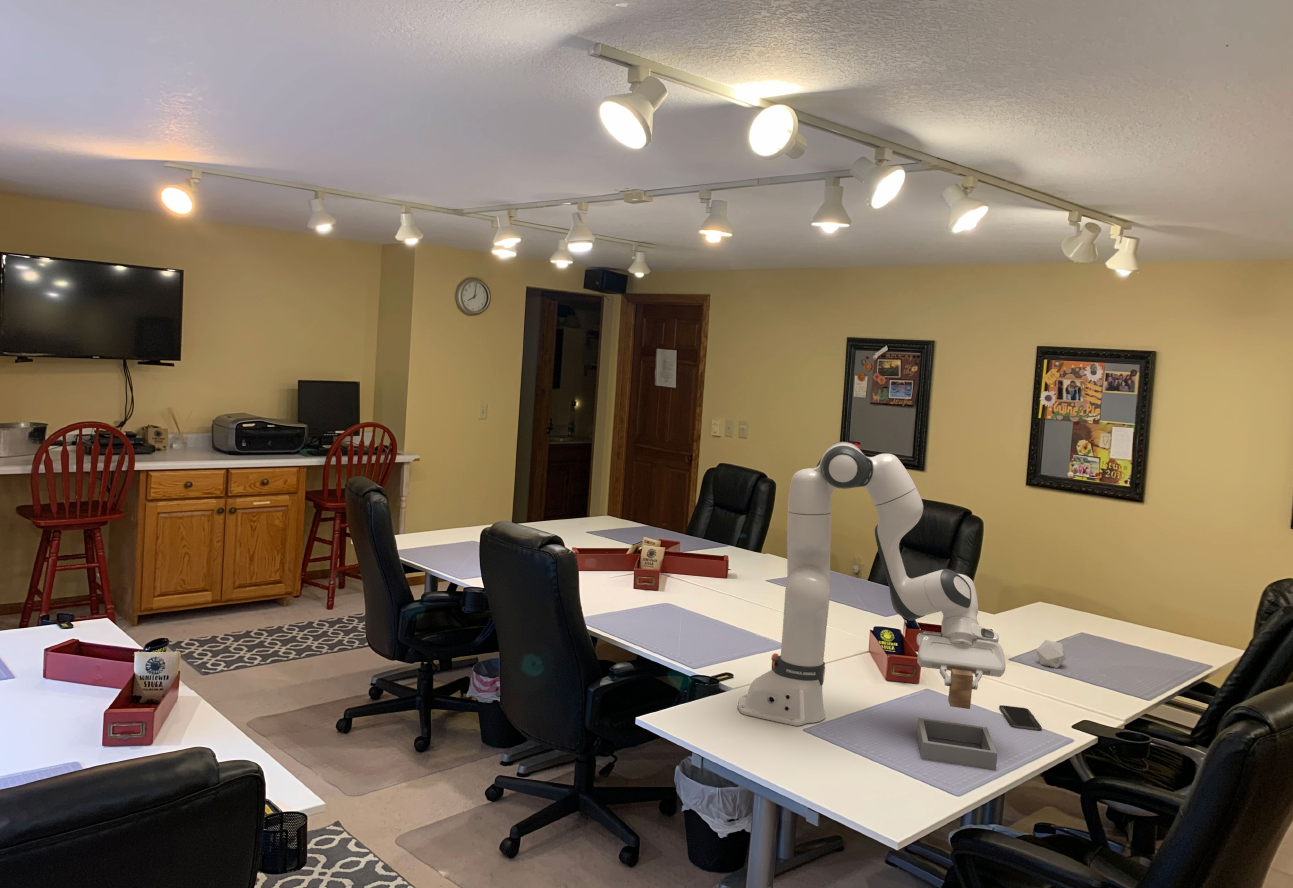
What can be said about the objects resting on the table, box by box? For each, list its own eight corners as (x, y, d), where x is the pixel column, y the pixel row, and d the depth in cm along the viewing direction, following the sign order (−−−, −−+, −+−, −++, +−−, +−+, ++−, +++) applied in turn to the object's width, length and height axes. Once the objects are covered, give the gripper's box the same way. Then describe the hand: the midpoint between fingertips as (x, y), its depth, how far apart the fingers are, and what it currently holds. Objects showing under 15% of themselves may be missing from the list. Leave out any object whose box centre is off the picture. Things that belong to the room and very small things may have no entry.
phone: (1011, 724, 238) (998, 704, 253) (1011, 729, 238) (998, 708, 253) (1043, 728, 237) (1028, 708, 251) (1042, 732, 237) (1027, 711, 252)
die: (1048, 672, 291) (1070, 650, 289) (1027, 652, 296) (1048, 631, 295) (1053, 676, 297) (1075, 654, 296) (1033, 656, 302) (1054, 636, 301)
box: (921, 758, 213) (923, 742, 213) (916, 732, 229) (918, 717, 229) (995, 770, 210) (997, 753, 210) (985, 742, 226) (986, 727, 226)
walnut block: (950, 706, 217) (953, 673, 217) (948, 699, 222) (951, 667, 221) (970, 708, 216) (973, 676, 216) (967, 702, 221) (970, 670, 220)
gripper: (918, 623, 227) (917, 674, 218) (1005, 634, 222) (1008, 686, 213) (915, 636, 231) (914, 686, 222) (1000, 647, 227) (1003, 698, 218)
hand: (961, 686), depth 218 cm, fingers closed on walnut block, 4 cm apart
